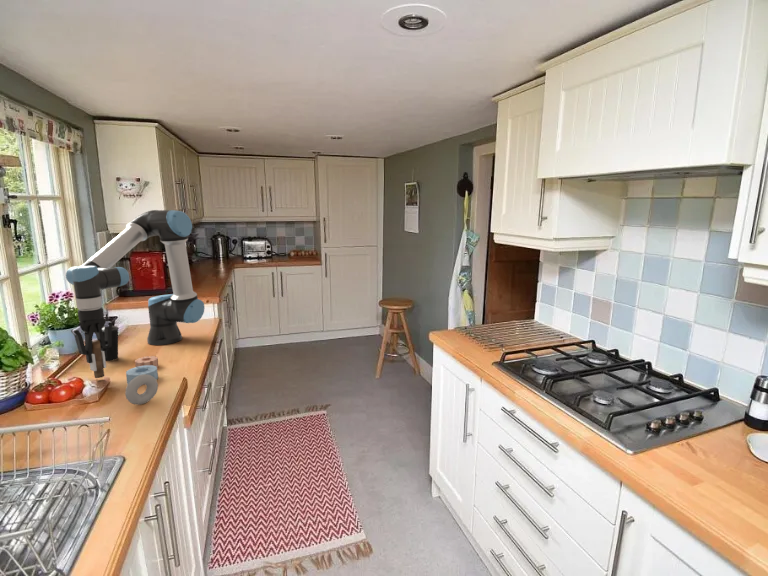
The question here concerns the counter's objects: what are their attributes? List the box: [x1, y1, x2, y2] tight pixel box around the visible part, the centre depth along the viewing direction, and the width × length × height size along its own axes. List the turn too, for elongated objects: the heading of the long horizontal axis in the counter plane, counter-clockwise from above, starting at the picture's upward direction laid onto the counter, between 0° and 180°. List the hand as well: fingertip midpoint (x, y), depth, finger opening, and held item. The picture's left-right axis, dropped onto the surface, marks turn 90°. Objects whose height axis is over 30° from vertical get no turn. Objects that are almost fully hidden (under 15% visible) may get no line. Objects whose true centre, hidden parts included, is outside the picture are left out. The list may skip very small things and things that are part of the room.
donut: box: [124, 374, 159, 406], centre depth 132 cm, size 10×4×10 cm, turn 148°
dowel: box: [92, 339, 105, 379], centre depth 149 cm, size 3×3×14 cm
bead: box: [134, 355, 159, 368], centre depth 164 cm, size 8×8×4 cm
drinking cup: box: [102, 313, 120, 362], centre depth 171 cm, size 8×8×20 cm
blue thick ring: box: [125, 365, 159, 385], centre depth 151 cm, size 10×10×4 cm
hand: (98, 368), depth 150 cm, fingers closed on dowel, 3 cm apart
